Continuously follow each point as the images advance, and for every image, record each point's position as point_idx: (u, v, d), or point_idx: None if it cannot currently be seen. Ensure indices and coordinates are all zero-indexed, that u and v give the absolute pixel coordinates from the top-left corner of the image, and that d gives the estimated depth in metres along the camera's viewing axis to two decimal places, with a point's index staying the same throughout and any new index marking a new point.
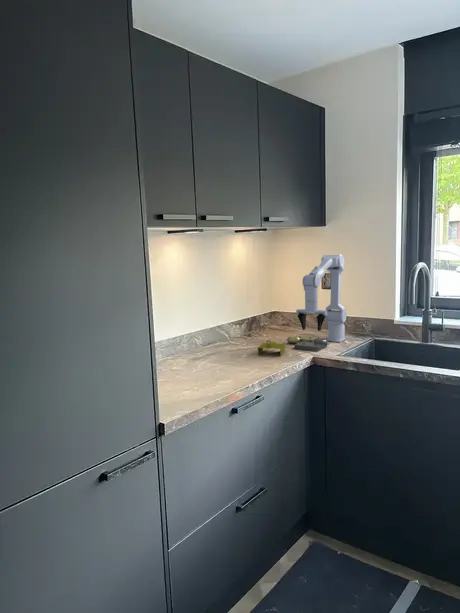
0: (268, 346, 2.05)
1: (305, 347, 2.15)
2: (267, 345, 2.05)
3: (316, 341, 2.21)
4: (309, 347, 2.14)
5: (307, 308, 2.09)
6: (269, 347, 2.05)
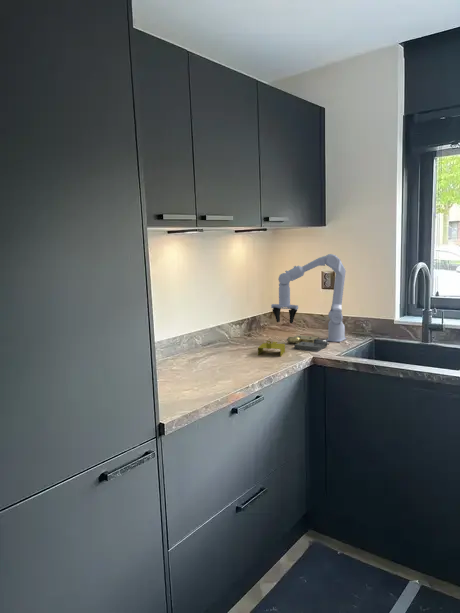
0: (268, 346, 2.05)
1: (305, 347, 2.15)
2: (267, 345, 2.05)
3: (316, 341, 2.21)
4: (309, 347, 2.14)
5: (280, 303, 2.34)
6: (269, 347, 2.05)
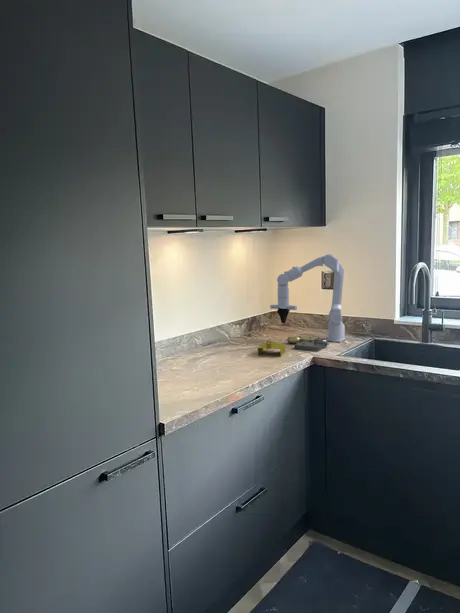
0: (268, 346, 2.05)
1: (305, 347, 2.15)
2: (267, 345, 2.05)
3: (316, 341, 2.21)
4: (309, 347, 2.14)
5: (279, 303, 2.35)
6: (269, 347, 2.05)
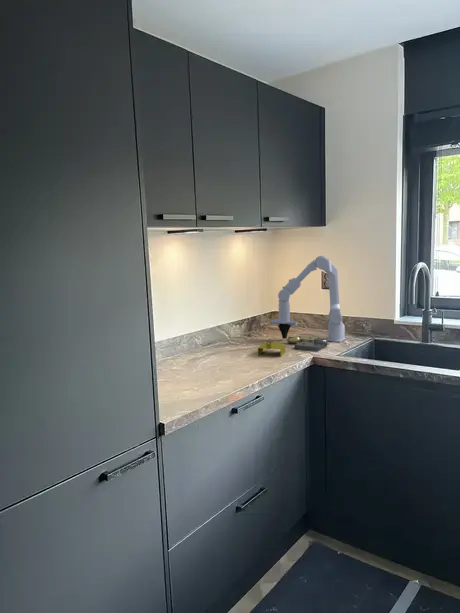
0: (268, 346, 2.04)
1: (305, 347, 2.15)
2: (267, 345, 2.05)
3: (316, 341, 2.21)
4: (309, 347, 2.14)
5: (280, 319, 2.36)
6: (269, 347, 2.04)
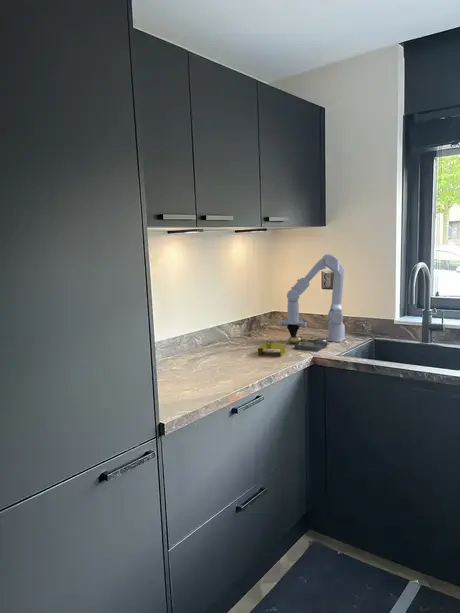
0: (268, 346, 2.04)
1: (305, 347, 2.15)
2: (267, 345, 2.04)
3: (316, 341, 2.21)
4: (309, 347, 2.14)
5: (289, 320, 2.33)
6: (269, 347, 2.04)
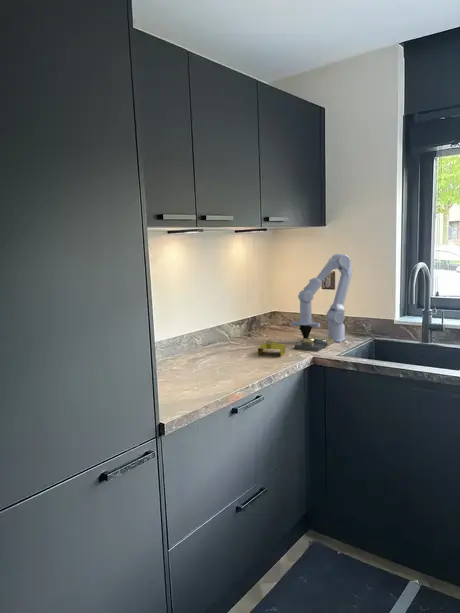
0: (268, 347, 2.04)
1: (305, 347, 2.15)
2: (267, 346, 2.04)
3: (316, 341, 2.21)
4: (309, 347, 2.14)
5: (302, 321, 2.29)
6: (269, 348, 2.04)
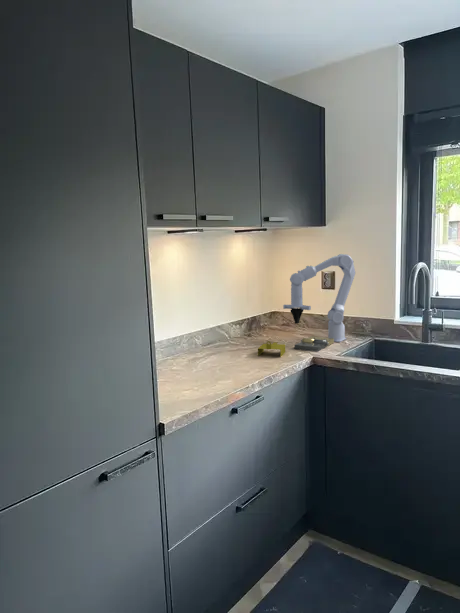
0: (268, 347, 2.04)
1: (305, 347, 2.15)
2: (267, 346, 2.04)
3: (316, 341, 2.21)
4: (309, 347, 2.14)
5: (293, 303, 2.30)
6: (269, 348, 2.04)
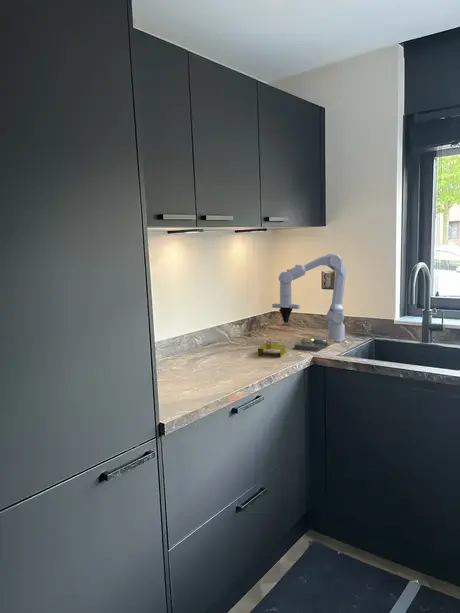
0: (268, 347, 2.03)
1: (305, 347, 2.15)
2: (267, 346, 2.03)
3: (316, 341, 2.21)
4: (309, 347, 2.14)
5: (281, 302, 2.29)
6: (269, 348, 2.03)
